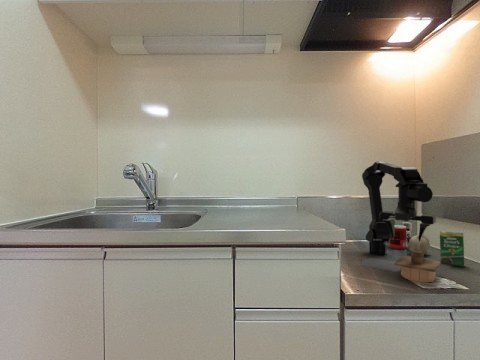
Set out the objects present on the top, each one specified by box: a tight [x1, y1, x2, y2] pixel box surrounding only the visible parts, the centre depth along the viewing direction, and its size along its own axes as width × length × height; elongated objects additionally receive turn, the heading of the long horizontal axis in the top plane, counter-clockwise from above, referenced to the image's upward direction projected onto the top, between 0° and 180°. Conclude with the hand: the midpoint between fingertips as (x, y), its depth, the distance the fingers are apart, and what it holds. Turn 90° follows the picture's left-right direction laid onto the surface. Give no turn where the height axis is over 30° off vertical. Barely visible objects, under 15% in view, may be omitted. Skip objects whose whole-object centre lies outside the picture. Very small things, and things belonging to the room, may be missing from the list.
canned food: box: [388, 224, 407, 251], centre depth 149 cm, size 8×8×11 cm
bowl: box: [400, 267, 436, 283], centre depth 105 cm, size 10×10×5 cm
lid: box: [394, 249, 442, 273], centre depth 105 cm, size 12×12×5 cm
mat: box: [359, 257, 401, 273], centre depth 120 cm, size 14×14×1 cm
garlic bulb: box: [408, 233, 431, 255], centre depth 136 cm, size 9×8×10 cm
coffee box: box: [439, 231, 465, 268], centre depth 121 cm, size 8×3×13 cm, turn 51°
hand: (406, 238), depth 117 cm, fingers open, 9 cm apart
